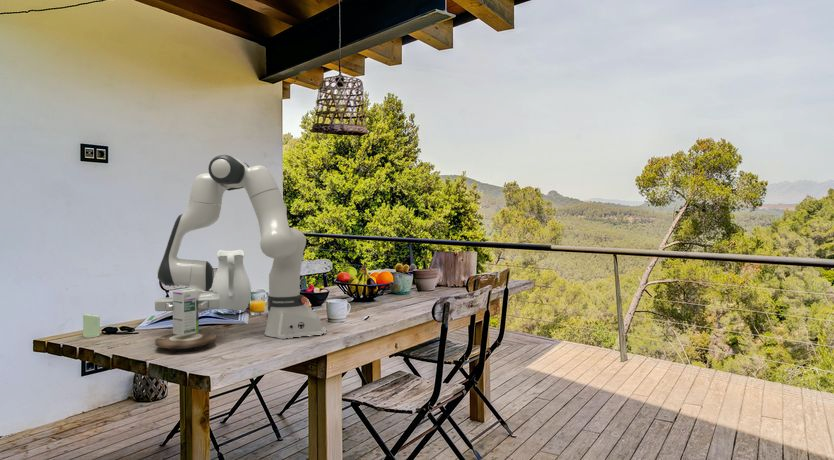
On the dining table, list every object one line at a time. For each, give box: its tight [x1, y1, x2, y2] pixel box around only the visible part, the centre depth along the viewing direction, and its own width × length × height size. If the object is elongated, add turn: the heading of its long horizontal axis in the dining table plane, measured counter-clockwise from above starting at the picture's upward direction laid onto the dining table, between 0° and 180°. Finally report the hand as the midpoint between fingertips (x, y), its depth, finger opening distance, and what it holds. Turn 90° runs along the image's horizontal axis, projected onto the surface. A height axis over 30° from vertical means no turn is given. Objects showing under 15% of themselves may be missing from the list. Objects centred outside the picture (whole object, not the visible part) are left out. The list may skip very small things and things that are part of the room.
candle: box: [82, 313, 101, 339], centre depth 181 cm, size 5×5×8 cm
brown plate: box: [154, 331, 217, 349], centre depth 166 cm, size 18×18×1 cm
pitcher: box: [210, 249, 252, 312], centre depth 222 cm, size 24×17×28 cm
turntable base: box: [168, 345, 204, 352], centre depth 166 cm, size 10×10×2 cm
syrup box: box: [172, 288, 200, 336], centre depth 166 cm, size 6×6×14 cm
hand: (185, 307), depth 165 cm, fingers closed on syrup box, 8 cm apart
